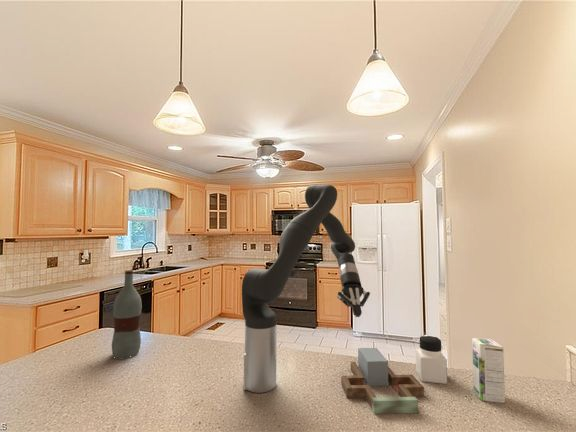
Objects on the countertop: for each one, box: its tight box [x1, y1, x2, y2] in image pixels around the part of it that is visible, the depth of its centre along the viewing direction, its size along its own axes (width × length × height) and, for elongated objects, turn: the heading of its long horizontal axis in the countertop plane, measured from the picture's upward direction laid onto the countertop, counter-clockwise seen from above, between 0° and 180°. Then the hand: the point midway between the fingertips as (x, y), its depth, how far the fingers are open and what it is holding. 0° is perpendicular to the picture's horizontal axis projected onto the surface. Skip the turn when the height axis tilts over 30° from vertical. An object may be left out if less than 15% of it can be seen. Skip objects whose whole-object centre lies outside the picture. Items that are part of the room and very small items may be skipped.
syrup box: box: [471, 337, 506, 404], centre depth 79 cm, size 6×6×14 cm
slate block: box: [357, 347, 389, 387], centre depth 90 cm, size 6×10×7 cm, turn 2°
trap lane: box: [340, 361, 425, 415], centre depth 83 cm, size 21×23×3 cm
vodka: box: [111, 269, 143, 359], centre depth 107 cm, size 9×9×30 cm
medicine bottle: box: [415, 334, 448, 385], centre depth 90 cm, size 7×7×12 cm
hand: (358, 315), depth 106 cm, fingers closed
